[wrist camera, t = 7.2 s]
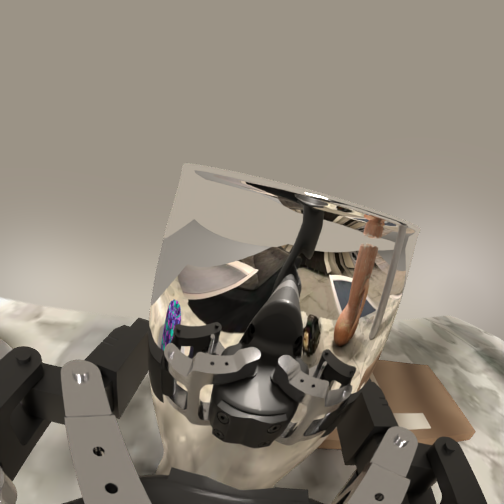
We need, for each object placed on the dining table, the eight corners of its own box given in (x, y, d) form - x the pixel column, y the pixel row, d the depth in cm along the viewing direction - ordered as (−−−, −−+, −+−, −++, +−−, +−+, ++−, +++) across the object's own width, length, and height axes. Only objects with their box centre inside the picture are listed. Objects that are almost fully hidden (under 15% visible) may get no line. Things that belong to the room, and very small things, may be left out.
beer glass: (152, 434, 14) (188, 164, 10) (264, 446, 15) (355, 206, 12) (140, 532, 7) (143, 152, 4) (285, 538, 8) (481, 250, 5)
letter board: (424, 372, 27) (428, 364, 27) (469, 439, 16) (476, 431, 15) (259, 346, 27) (262, 338, 27) (253, 440, 16) (257, 430, 15)
